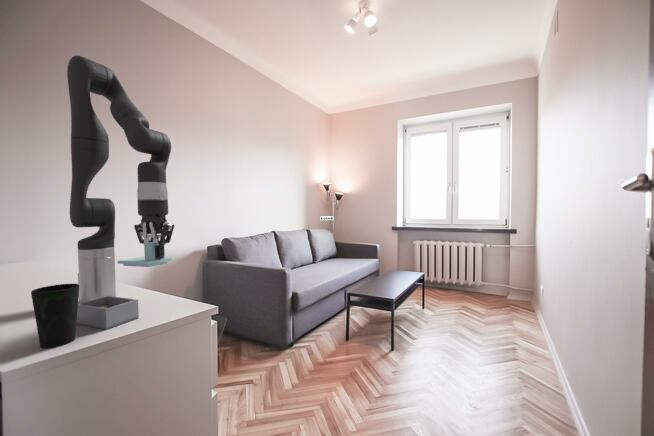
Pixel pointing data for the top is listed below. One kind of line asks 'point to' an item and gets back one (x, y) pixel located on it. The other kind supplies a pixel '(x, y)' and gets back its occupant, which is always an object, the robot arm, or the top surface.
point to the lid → (146, 258)
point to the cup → (56, 314)
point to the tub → (107, 312)
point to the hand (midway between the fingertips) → (155, 258)
